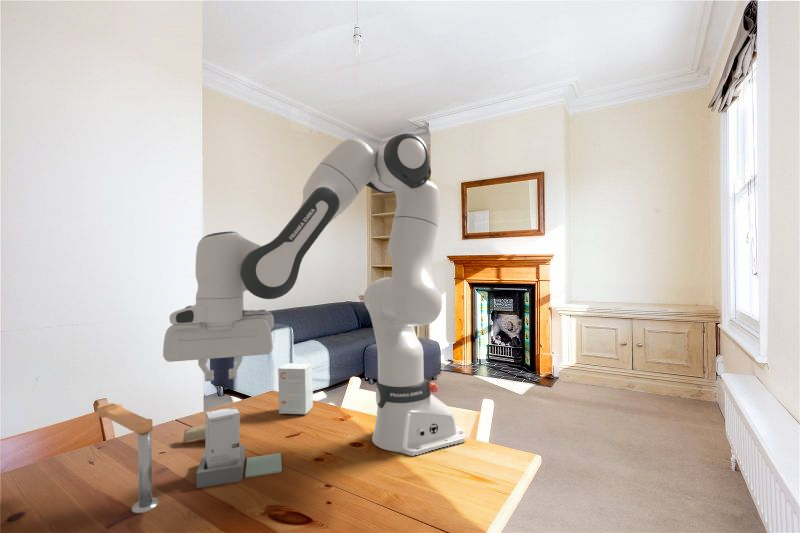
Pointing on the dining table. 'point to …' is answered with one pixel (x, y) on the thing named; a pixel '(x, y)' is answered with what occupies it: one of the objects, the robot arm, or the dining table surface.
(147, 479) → the post
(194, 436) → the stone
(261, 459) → the mat
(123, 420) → the wooden board
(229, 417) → the skincare box
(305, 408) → the small box
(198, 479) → the grey slotted base
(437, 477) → the dining table surface
